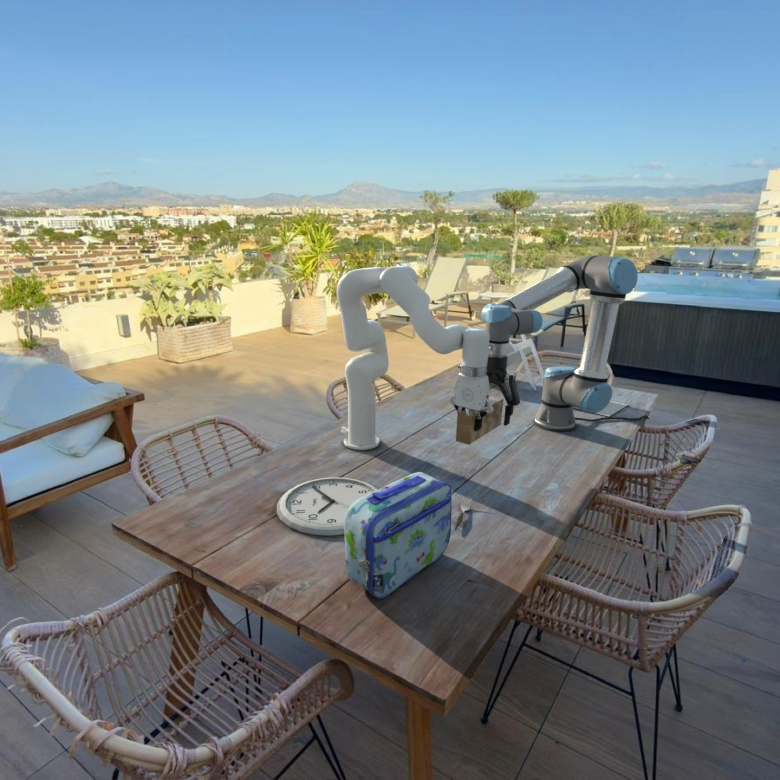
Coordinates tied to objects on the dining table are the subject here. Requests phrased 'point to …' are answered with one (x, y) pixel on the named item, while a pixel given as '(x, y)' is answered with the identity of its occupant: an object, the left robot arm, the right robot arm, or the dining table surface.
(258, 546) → the dining table surface
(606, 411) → the invitation card
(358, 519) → the lunch box
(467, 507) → the fork
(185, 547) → the dining table surface
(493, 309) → the right robot arm
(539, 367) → the white plastic object
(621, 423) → the dining table surface
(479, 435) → the bar
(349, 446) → the left robot arm
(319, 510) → the wall clock
